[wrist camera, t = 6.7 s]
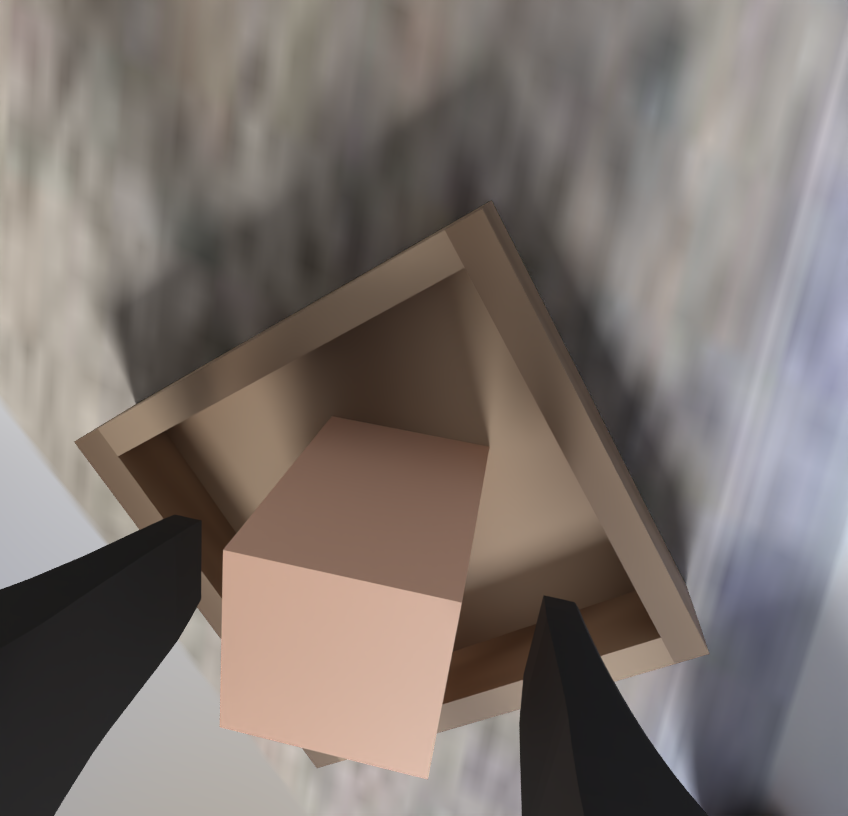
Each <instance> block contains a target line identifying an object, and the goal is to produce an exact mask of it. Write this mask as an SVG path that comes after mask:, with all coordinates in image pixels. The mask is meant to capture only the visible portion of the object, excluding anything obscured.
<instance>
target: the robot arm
mask: <svg viewBox="0 0 848 816" xmlns="http://www.w3.org/2000/svg"><path fill="white" fill-rule="evenodd" d="M201 557H202V520H198V519H193V518H189V517H184V516H180V515H172V516H170V517H167V518H165V519H162V520H160V521H158V522H156V523H153V524H151V525H149V526H147V527H145V528H143V529H140V530H138V531H136V532H134V533H132V534H130V535H128V536H126V537H124V538H121V539H119V540H117V541H115V542H113V543H111V544H109V545H106V546H104V547H102V548H100V549H98V550H96V551H94V552H92V553H89V554H87V555H85V556H83V557H80V558H78V559H76V560H73V561H71V562H69V563H66V564H64V565H61V566H59V567H57V568H54V569H52V570H49V571H47V572H45V573H42V574H40V575H38V576H35V577H33V578H30V579H28V580H25V581H23V582H20V583H17V584H14V585H12V586H9V587H6V588H4V589H1V590H0V816H54V815H55V813H56V811H57V810H58V808H59V806H60V805H61V803H62V801H63V800H64V797H65V796H66V795H67V793H68V792H69V790H70V788H71V787H72V785H73V784H74V782H75V780H76V779H77V777H78V775H79V774H80V772H81V771H82V769H83V768H84V766H85V765H86V763H87V761H88V760H89V758H90V756H91V755H92V753H93V752H94V751H95V749H96V748H97V746H98V745H99V744H100V742H101V741H102V739H103V738H104V737H105V735H106V734H107V732H108V731H109V730H110V728H111V727H112V726H113V724H114V723H115V722H116V721H117V719H118V718H119V717H120V715H121V714H122V713H123V711H124V710H125V709H126V708H127V706H128V705H129V704H130V702H131V701H132V700H133V698H134V697H135V696H136V694H137V693H138V692H139V691H140V689H141V688H142V687H143V686H144V684H145V683H146V682H147V680H148V679H149V678H150V676H151V675H152V674H153V673H154V671H155V670H156V669H157V667H158V666H159V665H160V663H161V662H162V661H163V659H164V658H165V657H166V655H167V654H168V653H169V651H170V650H171V649H172V647H173V646H174V645H175V643H176V642H177V641H178V639H179V637H180V636H181V634H182V632H183V631H184V629H185V627H186V626H187V624H188V622H189V620H190V619H191V617H192V615H193V613H194V611H195V610H196V608H197V606H198V604H199V602H200V601H201ZM519 727H520V767H521V800H522V816H708V815H707V814H706V812H705V811H704V810H703V809H702V808H701V807H700V805H699V804H698V803H697V802H696V801H695V800H694V798H693V797H692V796H691V795H690V794H689V792H688V791H687V790H686V789H685V788H684V786H683V785H682V784H681V783H680V781H679V780H678V779H677V778H676V776H675V775H674V774H673V772H672V771H671V770H670V768H669V767H668V766H667V764H666V763H665V761H664V760H663V759H662V757H661V756H660V755H659V753H658V752H657V750H656V749H655V747H654V746H653V745H652V743H651V742H650V740H649V739H648V737H647V736H646V734H645V733H644V731H643V729H642V728H641V726H640V725H639V723H638V722H637V720H636V718H635V717H634V715H633V713H632V712H631V710H630V709H629V707H628V705H627V704H626V702H625V700H624V698H623V697H622V695H621V693H620V692H619V690H618V688H617V686H616V684H615V682H614V681H613V679H612V677H611V675H610V673H609V671H608V670H607V668H606V666H605V664H604V662H603V660H602V658H601V656H600V654H599V652H598V650H597V648H596V646H595V644H594V642H593V640H592V638H591V635H590V633H589V631H588V629H587V627H586V624H585V622H584V620H583V617H582V615H581V613H580V610H579V608H578V606H577V605H576V603H575V602H572V601H568V600H563V599H559V598H554V597H550V596H545V595H544V596H543V599H542V603H541V607H540V611H539V615H538V619H537V623H536V627H535V631H534V635H533V639H532V643H531V647H530V651H529V655H528V659H527V662H526V666H525V670H524V675H523V686H522V697H521V710H520V722H519Z"/></svg>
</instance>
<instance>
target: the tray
mask: <svg viewBox="0 0 848 816" xmlns="http://www.w3.org/2000/svg"><path fill="white" fill-rule="evenodd" d="M331 416H334V417H339V418H344V419H349V420H354V421H359V422H365V423H370V424H375V425H380V426H385V427H390V428H395V429H401V430H406V431H411V432H416V433H421V434H426V435H432V436H437V437H442V438H447V439H452V440H457V441H462V442H468V443H473V444H478V445H483V446H488V447H490V448H489V453H488V459H487V465H486V470H485V476H484V481H483V487H482V493H481V498H480V504H479V510H478V515H477V521H476V526H475V532H474V538H473V543H472V549H471V555H470V560H469V566H468V571H467V577H466V583H465V588H464V594H463V600H462V605H461V610H460V615H459V620H458V626H457V631H456V636H455V641H454V646H453V652H452V657H451V662H450V667H449V672H448V677H447V683H446V688H445V693H444V698H443V703H442V708H441V714H440V719H439V724H438V729H437V733H440V732H443V731H447V730H450V729H453V728H457V727H460V726H464V725H467V724H471V723H474V722H477V721H481V720H484V719H488V718H491V717H495V716H498V715H501V714H505V713H508V712H512V711H515V710H519V709H521V697H522V686H523V675H524V670H525V666H526V662H527V659H528V655H529V651H530V647H531V643H532V639H533V635H534V631H535V627H536V623H537V619H538V615H539V611H540V607H541V603H542V599H543V596H544V595H545V596H550V597H554V598H559V599H563V600H568V601H572V602H575V603H576V605H577V606H578V608H579V610H580V613H581V615H582V617H583V620H584V622H585V624H586V627H587V629H588V631H589V633H590V635H591V638H592V640H593V642H594V644H595V646H596V648H597V650H598V652H599V654H600V656H601V658H602V660H603V662H604V664H605V666H606V668H607V670H608V671H609V673H610V675H611V677H612V679H613V681H614V682H615V681H618V680H622V679H625V678H629V677H632V676H635V675H639V674H642V673H646V672H649V671H653V670H656V669H659V668H663V667H666V666H670V665H673V664H677V663H680V662H683V661H687V660H690V659H694V658H697V657H701V656H704V655H708V654H710V653H709V650H708V648H707V645H706V642H705V639H704V636H703V633H702V630H701V627H700V624H699V621H698V618H697V615H696V612H695V609H694V606H693V604H692V601H691V598H690V595H689V592H688V589H687V586H686V584H685V582H684V580H683V578H682V576H681V574H680V572H679V570H678V568H677V566H676V564H675V562H674V560H673V558H672V556H671V554H670V552H669V550H668V548H667V546H666V544H665V543H664V541H663V539H662V537H661V535H660V533H659V531H658V529H657V527H656V525H655V523H654V521H653V519H652V517H651V515H650V513H649V511H648V509H647V507H646V505H645V503H644V501H643V499H642V497H641V495H640V493H639V491H638V489H637V487H636V485H635V483H634V481H633V479H632V477H631V475H630V473H629V471H628V469H627V467H626V465H625V463H624V461H623V459H622V457H621V455H620V453H619V452H618V450H617V448H616V446H615V444H614V442H613V440H612V438H611V436H610V434H609V432H608V430H607V428H606V426H605V424H604V422H603V420H602V418H601V416H600V414H599V412H598V410H597V408H596V406H595V404H594V402H593V400H592V398H591V396H590V394H589V392H588V390H587V388H586V386H585V384H584V382H583V380H582V378H581V376H580V374H579V372H578V370H577V368H576V366H575V364H574V362H573V361H572V359H571V357H570V355H569V353H568V351H567V349H566V347H565V345H564V343H563V341H562V339H561V337H560V335H559V333H558V331H557V329H556V327H555V325H554V323H553V321H552V319H551V317H550V315H549V313H548V311H547V309H546V307H545V305H544V303H543V301H542V299H541V297H540V295H539V293H538V291H537V289H536V287H535V285H534V283H533V281H532V279H531V277H530V275H529V273H528V271H527V269H526V268H525V266H524V264H523V262H522V260H521V258H520V256H519V254H518V252H517V250H516V248H515V246H514V244H513V242H512V240H511V238H510V236H509V234H508V232H507V230H506V228H505V226H504V224H503V222H502V220H501V218H500V216H499V214H498V212H497V210H496V208H495V206H494V204H493V202H492V200H491V201H490V202H488V203H486V204H484V205H483V206H481V207H479V208H477V209H476V210H474V211H472V212H470V213H469V214H467V215H465V216H463V217H462V218H460V219H458V220H456V221H455V222H453V223H451V224H449V225H448V226H446V227H444V228H442V229H441V230H439V231H437V232H435V233H434V234H432V235H430V236H428V237H427V238H425V239H423V240H422V241H420V242H418V243H416V244H415V245H413V246H411V247H409V248H408V249H406V250H404V251H402V252H401V253H399V254H397V255H395V256H394V257H392V258H390V259H388V260H387V261H385V262H383V263H381V264H380V265H378V266H376V267H374V268H373V269H371V270H369V271H367V272H366V273H364V274H362V275H360V276H359V277H357V278H355V279H353V280H352V281H350V282H348V283H347V284H345V285H343V286H341V287H340V288H338V289H336V290H334V291H333V292H331V293H329V294H327V295H326V296H324V297H322V298H320V299H319V300H317V301H315V302H313V303H312V304H310V305H308V306H306V307H305V308H303V309H301V310H299V311H298V312H296V313H294V314H292V315H291V316H289V317H287V318H285V319H284V320H282V321H280V322H279V323H277V324H275V325H273V326H272V327H270V328H268V329H266V330H265V331H263V332H261V333H259V334H258V335H256V336H254V337H252V338H251V339H249V340H247V341H245V342H244V343H242V344H240V345H238V346H237V347H235V348H233V349H231V350H230V351H228V352H226V353H224V354H223V355H221V356H219V357H217V358H216V359H214V360H212V361H211V362H209V363H207V364H205V365H204V366H202V367H200V368H198V369H197V370H195V371H193V372H191V373H190V374H188V375H186V376H184V377H183V378H181V379H179V380H177V381H176V382H174V383H172V384H170V385H169V386H167V387H165V388H163V389H162V390H160V391H158V392H156V393H155V394H153V395H151V396H149V397H148V398H146V399H144V400H143V401H141V402H139V403H137V404H136V405H134V406H132V407H131V408H129V409H127V410H126V411H124V412H122V413H121V414H119V415H117V416H116V417H114V418H112V419H111V420H109V421H107V422H106V423H104V424H103V425H101V426H99V427H98V428H96V429H94V430H93V431H91V432H89V433H88V434H86V435H84V436H83V437H81V438H79V439H78V440H76V441H75V444H76V445H77V446H78V448H79V449H80V450H81V452H82V453H83V454H84V456H85V457H86V458H87V460H88V461H89V462H90V464H91V465H92V466H93V468H94V469H95V470H96V472H97V473H98V475H99V476H100V477H101V479H102V480H103V481H104V483H105V484H106V485H107V487H108V488H109V489H110V491H111V492H112V493H113V495H114V496H115V497H116V499H117V500H118V501H119V503H120V504H121V505H122V507H123V508H124V509H125V511H126V512H127V513H128V515H129V516H130V518H131V519H132V520H133V522H134V523H135V524H136V526H137V527H138V528H139V530H140V529H143V528H145V527H147V526H149V525H151V524H153V523H156V522H158V521H160V520H162V519H165V518H167V517H170V516H172V515H180V516H184V517H189V518H193V519H198V520H202V557H201V601H200V602H199V604H198V606H197V608H198V609H199V610H200V612H201V613H202V614H203V616H204V617H205V618H206V620H207V621H208V622H209V624H210V625H211V626H212V628H213V629H214V630H215V632H216V633H217V634H218V636H219V637H220V638H221V634H222V579H223V549H224V548H225V547H226V546H227V544H228V543H229V542H230V541H231V540H232V538H233V537H234V536H235V535H236V533H237V532H238V531H239V530H240V528H241V527H242V526H243V525H244V523H245V522H246V521H247V520H248V519H249V517H250V516H251V515H252V514H253V512H254V511H255V510H256V509H257V507H258V506H259V505H260V504H261V503H262V501H263V500H264V499H265V498H266V496H267V495H268V494H269V493H270V491H271V490H272V489H273V488H274V487H275V485H276V484H277V483H278V482H279V480H280V479H281V478H282V477H283V475H284V474H285V473H286V472H287V471H288V469H289V468H290V467H291V466H292V464H293V463H294V462H295V461H296V459H297V458H298V457H299V456H300V455H301V453H302V452H303V451H304V450H305V448H306V447H307V446H308V445H309V443H310V442H311V441H312V440H313V439H314V437H315V436H316V435H317V434H318V432H319V431H320V430H321V429H322V427H323V426H324V425H325V424H326V423H327V421H328V420H329V419H330V418H331ZM302 749H303V750H304V751H305V753H306V754H307V755H308V757H309V758H310V759H311V761H312V762H313V763H314V765H315V766H316V767H317V768H320V767H323V766H326V765H330V764H333V763H337V762H340V761H344V760H347V759H345V758H341V757H337V756H333V755H329V754H325V753H321V752H317V751H313V750H309V749H305V748H302Z"/></svg>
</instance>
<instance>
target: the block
mask: <svg viewBox="0 0 848 816" xmlns="http://www.w3.org/2000/svg"><path fill="white" fill-rule="evenodd" d="M489 448H490V447H488V446H483V445H478V444H473V443H468V442H462V441H457V440H452V439H447V438H442V437H437V436H432V435H426V434H421V433H416V432H411V431H406V430H401V429H395V428H390V427H385V426H380V425H375V424H370V423H365V422H359V421H354V420H349V419H344V418H339V417H334V416H331V418H330V419H329V420H328V421H327V423H326V424H325V425H324V426H323V427H322V429H321V430H320V431H319V432H318V434H317V435H316V436H315V437H314V439H313V440H312V441H311V442H310V443H309V445H308V446H307V447H306V448H305V450H304V451H303V452H302V453H301V455H300V456H299V457H298V458H297V459H296V461H295V462H294V463H293V464H292V466H291V467H290V468H289V469H288V471H287V472H286V473H285V474H284V475H283V477H282V478H281V479H280V480H279V482H278V483H277V484H276V485H275V487H274V488H273V489H272V490H271V491H270V493H269V494H268V495H267V496H266V498H265V499H264V500H263V501H262V503H261V504H260V505H259V506H258V507H257V509H256V510H255V511H254V512H253V514H252V515H251V516H250V517H249V519H248V520H247V521H246V522H245V523H244V525H243V526H242V527H241V528H240V530H239V531H238V532H237V533H236V535H235V536H234V537H233V538H232V540H231V541H230V542H229V543H228V544H227V546H226V547H225V548H224V549H223V579H222V634H221V689H220V727H221V728H225V729H229V730H234V731H237V732H241V733H245V734H249V735H253V736H257V737H261V738H265V739H269V740H273V741H277V742H281V743H285V744H289V745H293V746H297V747H301V748H305V749H309V750H313V751H317V752H321V753H325V754H329V755H333V756H337V757H341V758H345V759H349V760H353V761H357V762H361V763H364V764H368V765H372V766H376V767H380V768H384V769H388V770H392V771H396V772H400V773H404V774H408V775H412V776H416V777H420V778H424V779H428V776H429V770H430V765H431V760H432V755H433V750H434V745H435V739H436V734H437V729H438V724H439V719H440V714H441V708H442V703H443V698H444V693H445V688H446V683H447V677H448V672H449V667H450V662H451V657H452V652H453V646H454V641H455V636H456V631H457V626H458V620H459V615H460V610H461V605H462V600H463V594H464V588H465V583H466V577H467V571H468V566H469V560H470V555H471V549H472V543H473V538H474V532H475V526H476V521H477V515H478V510H479V504H480V498H481V493H482V487H483V481H484V476H485V470H486V465H487V459H488V453H489Z"/></svg>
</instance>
